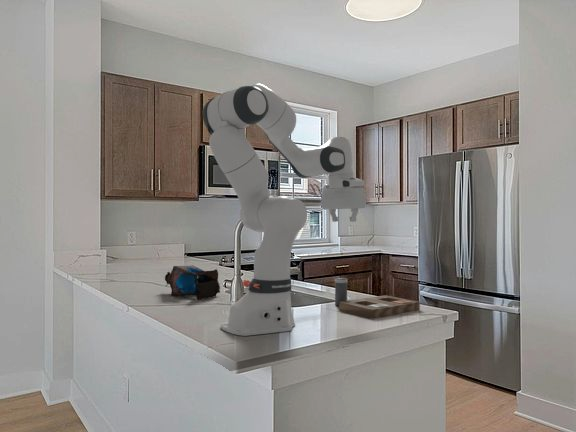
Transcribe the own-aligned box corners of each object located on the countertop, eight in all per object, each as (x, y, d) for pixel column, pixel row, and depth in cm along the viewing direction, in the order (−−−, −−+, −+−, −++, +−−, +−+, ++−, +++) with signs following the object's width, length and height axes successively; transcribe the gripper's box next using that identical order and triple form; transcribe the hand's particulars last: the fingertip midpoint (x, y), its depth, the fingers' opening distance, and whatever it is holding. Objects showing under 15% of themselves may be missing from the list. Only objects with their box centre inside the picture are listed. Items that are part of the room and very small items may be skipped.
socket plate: (372, 319, 146) (372, 308, 146) (339, 310, 159) (339, 301, 159) (419, 310, 160) (419, 301, 160) (385, 303, 173) (385, 294, 173)
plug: (340, 307, 165) (340, 279, 165) (332, 305, 168) (332, 278, 168) (349, 305, 167) (350, 278, 167) (341, 303, 171) (341, 277, 171)
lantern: (210, 313, 181) (166, 303, 194) (229, 280, 189) (185, 272, 202) (190, 291, 170) (144, 282, 183) (210, 257, 178) (166, 250, 192)
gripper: (316, 185, 168) (318, 222, 169) (354, 181, 151) (357, 222, 152) (329, 184, 172) (331, 220, 172) (367, 180, 155) (370, 220, 156)
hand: (344, 221), depth 162 cm, fingers open, 8 cm apart
